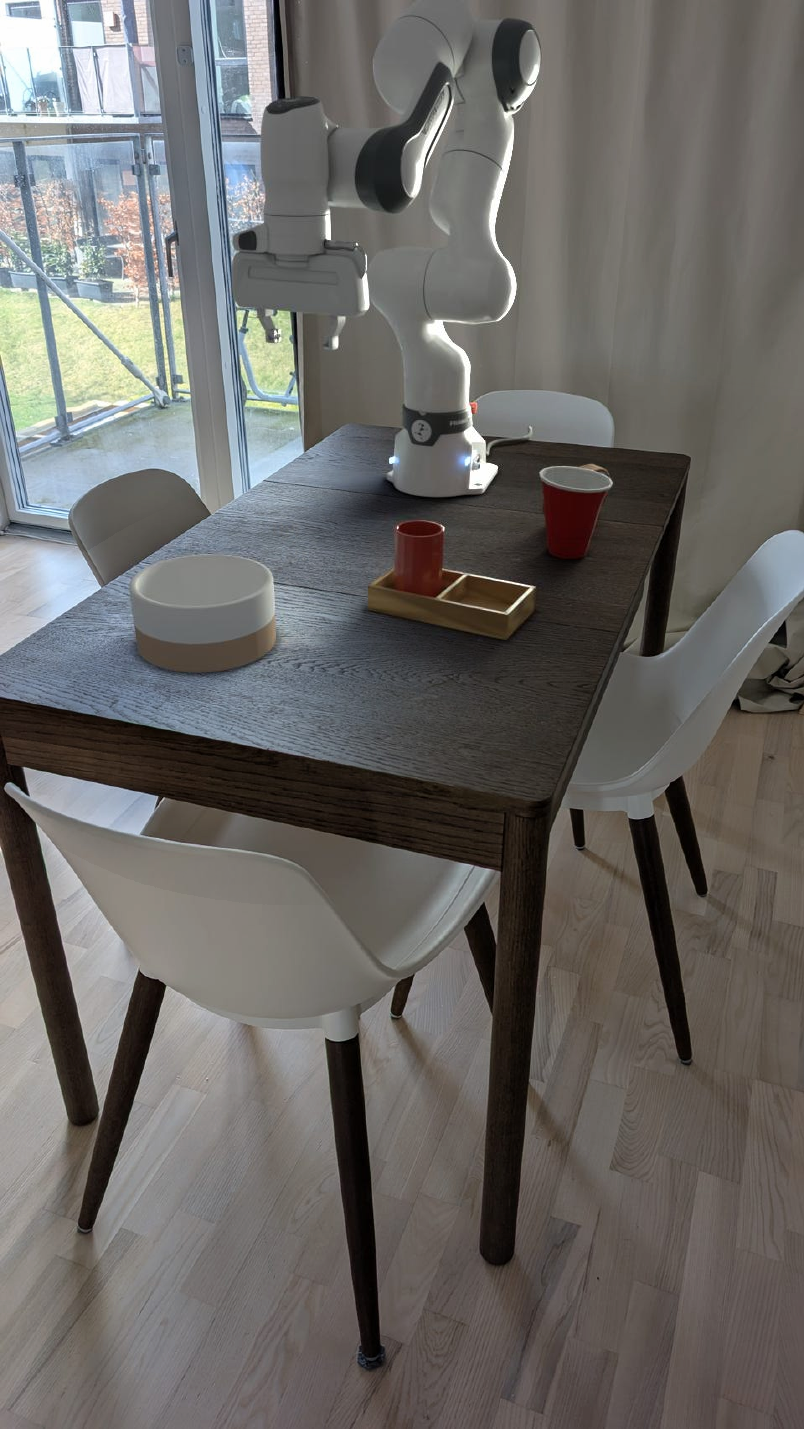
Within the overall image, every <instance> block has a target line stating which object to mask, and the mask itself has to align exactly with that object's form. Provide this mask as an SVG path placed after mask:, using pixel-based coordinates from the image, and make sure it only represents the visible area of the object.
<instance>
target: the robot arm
mask: <svg viewBox="0 0 804 1429" xmlns="http://www.w3.org/2000/svg"><path fill="white" fill-rule="evenodd" d="M542 57H543V56H542V45H541V40H540V37H539V34H538V33H537V31H536V29H535V27H534V26H533V25H532V23H530V22H529V21H526V20H523V19H519V18H514V17H505V18H504V19H474V18H473V15H472V12H471V10H470V8H469V5H468V4H467V2H466V1H465V0H415V1H414V2H413V3H412V4H411V5H409V6H408V7H407V8H405V10H404V11H403V12H402V13H401V14H400V15H399V16H398V17H397V19H395V21H394V22H393V24H391V26H390V27H389V28H388V30H386V32H385V33H384V34H383V36H382V37H381V39H380V40H379V42H378V45H377V46H376V49H375V51H374V54H373V59H372V73H373V74H372V75H373V79H374V83H375V86H376V89H377V91H378V93H379V95H380V96H381V98H382V100H383V101H384V102H385V104H386V105H387V106H388V107H389V108H390V109H391V110H393V112H395V113H397V114H398V115H400V116H401V118H400V120H399V122H398V123H396V124H393V125H388V126H384V127H343V126H342V127H339V125H338V124H336V123H335V122H333V121H331V119H330V118H328V117H327V116H326V114H325V111H324V106H323V103H322V101H321V100H320V99H319V98H315V97H314V96H292V97H284V98H283V97H282V98H279V99H276V100H273V101H271V102H270V103H268V104H267V105H266V106H265V107H264V110H263V113H262V118H261V127H260V143H259V144H260V145H259V146H260V149H259V150H260V151H259V152H260V155H259V156H260V174H261V180H262V183H263V187H264V194H265V195H264V196H265V197H264V204H263V209H262V211H263V214H262V215H263V222H262V223H261V224H257V225H255V226H252V227H250V228H247V229H244V230H242V231H238V232H236V233H234V234H233V235H232V238H231V239H232V240H231V242H232V248H233V249H234V250H235V251H236V253H235V254H234V256H233V257H232V263H231V293H232V298H233V300H234V302H235V303H236V306H238V307H240V308H247V309H248V308H249V309H250V308H251V309H256V317H257V319H258V321H259V323H260V325H261V327H262V329H263V330H264V335H265V336H264V337H265V342H266V344H267V343H268V344H279V343H281V340H282V337H281V334H282V333H281V329H280V328H276V326H275V323H274V322H273V319H272V317H271V316H274V311H281V312H289V313H290V312H291V313H301V314H312V315H313V314H314V315H322V316H328V323H329V324H330V325H331V328H330V330H329V332H328V334H326V335H322V342H323V344H322V347H323V349H324V350H329V351H335V350H337V349H338V348H339V335H340V334H341V332H342V331H343V328H344V326H345V324H346V318H358V317H362V316H364V315H365V314H366V313H367V311H368V310H369V308H370V303H372V305H373V306H374V308H375V309H377V310H378V311H379V312H380V313H381V314H382V316H383V317H384V318H385V319H386V320H387V322H388V324H389V325H390V327H391V329H392V331H393V332H394V335H395V337H396V340H397V343H398V344H399V347H400V353H401V357H402V362H403V386H404V389H403V390H404V403H403V404H402V405H401V412H400V418H401V427H402V429H401V430H400V431H398V433H397V434H395V439H394V449H393V456H391V457H389V464H392V470H391V471H388V472H387V473H386V480H387V481H389V482H391V483H392V484H393V486H394V487H395V489H397V490H398V491H400V492H402V493H405V494H408V495H412V496H417V497H427V498H448V497H457V496H464V495H481V494H484V493H485V491H487V490H486V489H487V488H488V487H489V485H490V484H491V482H492V481H493V479H494V478H495V476H496V475H497V474H498V466H497V465H495V464H493V463H490V462H488V461H487V457H489V455H490V450H491V448H492V447H493V446H495V445H496V446H497V445H501V444H511V443H513V444H514V443H522V442H526V441H528V440H530V439H531V438H532V436H533V428H532V427H531V426H528V427H527V435H524V436H521V437H520V436H519V437H514V438H513V437H512V438H502V439H495V440H492V441H489V442H488V443H487V444H486V440H484V438H483V437H482V436H481V435H480V434H479V433H478V432H477V431H476V429H475V428H474V427H473V424H474V423H473V422H474V421H473V415H476V414H477V411H478V404H477V402H470V401H469V398H470V378H471V377H470V374H471V363H470V361H469V358H468V356H467V354H466V352H465V351H464V349H462V348H461V347H460V346H458V345H457V344H455V343H454V342H453V341H452V340H451V339H450V338H449V336H448V334H447V332H446V331H445V328H444V325H443V322H446V323H455V324H464V325H465V324H466V325H478V324H479V325H480V324H486V323H493V322H498V321H500V320H502V318H504V317H505V316H506V315H507V313H508V312H509V311H510V309H511V307H512V306H513V303H514V300H515V296H516V291H517V282H516V276H515V273H514V270H513V267H512V266H511V264H510V262H509V261H508V259H506V258H505V256H503V254H502V252H501V251H500V249H499V247H498V244H497V241H496V233H495V225H496V218H497V213H498V210H499V205H500V201H501V197H502V194H503V189H504V185H505V182H506V179H507V175H508V171H509V166H510V161H511V157H512V151H513V145H514V133H515V122H514V118H513V114H515V113H517V112H519V111H520V110H521V108H522V107H523V106H524V104H525V102H526V99H527V98H528V97H530V94H531V93H532V91H533V90H534V88H535V86H536V84H537V82H538V80H539V77H540V74H541V68H542ZM453 106H456V118H455V121H454V123H453V125H452V127H451V129H450V131H449V135H448V137H447V139H446V142H445V145H444V147H443V150H442V153H441V157H440V160H439V162H438V163H439V164H438V166H437V170H436V173H435V178H434V181H433V185H432V188H431V191H430V195H429V198H428V210H429V214H430V216H431V218H432V221H433V222H434V224H435V225H436V226H437V227H438V228H439V229H441V231H443V232H444V233H445V234H447V235H448V239H447V242H446V244H445V246H444V247H430V246H429V247H428V246H416V245H402V246H396V247H392V248H391V247H390V248H386V249H381V250H379V251H378V252H377V253H376V254H375V255H374V256H373V258H372V259H371V261H370V263H369V265H368V263H367V262H368V261H367V260H368V259H367V258H368V257H367V253H366V252H365V250H364V249H363V247H362V246H360V245H358V243H357V242H356V241H353V240H352V241H351V240H346V241H343V240H342V241H341V240H336V239H332V238H331V209H330V207H334V208H335V207H336V208H342V209H357V210H358V209H359V210H360V209H361V210H372V211H375V212H382V213H387V214H393V215H395V214H399V213H401V212H403V211H404V210H407V208H408V207H409V206H410V205H411V204H412V203H413V202H414V200H415V199H416V197H417V196H418V194H419V193H420V190H421V187H422V184H423V181H424V177H425V172H426V168H427V165H428V162H429V160H430V158H431V157H432V153H433V152H434V149H435V147H436V145H437V143H438V141H439V139H440V137H441V134H442V132H443V131H444V128H445V127H446V126H445V125H446V124H447V121H448V119H449V117H450V114H451V111H452V109H453ZM486 461H487V462H486Z"/></svg>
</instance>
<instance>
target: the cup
mask: <svg viewBox="0 0 804 1429" xmlns="http://www.w3.org/2000/svg"><path fill="white" fill-rule="evenodd" d="M393 536H394V539H393V542H394V545H393V549H394V550H393V552H394V554H393V557H394V559H393V567H394V590H399V591H404V592H409V593H414V594H418V595H423V596H428V597H433V598H436V597H437V596H438V595H440V594H441V593H442V578H443V569H444V543H445V542H444V541H445V527H444V526H443V525H442V524H441V523H438V522H435V521H431V520H423V519H421V520H420V519H414V520H413V519H412V520H406V521H403V522H399V523H398V524H396V525H395V526H394V534H393Z"/></svg>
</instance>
